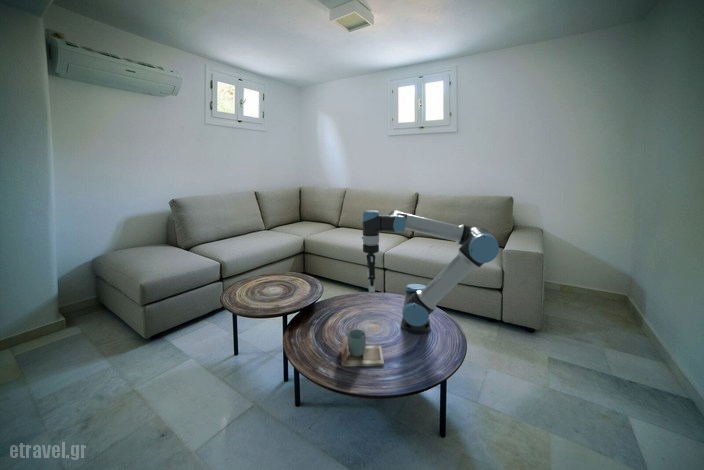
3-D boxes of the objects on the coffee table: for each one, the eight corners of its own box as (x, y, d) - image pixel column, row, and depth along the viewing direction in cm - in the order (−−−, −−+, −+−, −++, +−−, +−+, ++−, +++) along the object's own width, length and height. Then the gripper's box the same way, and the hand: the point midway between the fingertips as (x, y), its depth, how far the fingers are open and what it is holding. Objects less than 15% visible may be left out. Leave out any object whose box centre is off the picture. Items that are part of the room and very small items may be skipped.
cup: (356, 346, 140) (356, 327, 138) (369, 353, 135) (369, 333, 133) (344, 354, 135) (344, 334, 133) (357, 361, 130) (356, 341, 127)
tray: (380, 347, 142) (381, 335, 140) (383, 365, 129) (383, 353, 127) (342, 348, 142) (342, 336, 140) (341, 366, 129) (341, 353, 128)
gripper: (362, 237, 153) (362, 276, 158) (363, 251, 129) (364, 297, 134) (376, 237, 153) (376, 276, 158) (381, 250, 129) (381, 296, 133)
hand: (370, 286), depth 146 cm, fingers open, 13 cm apart
